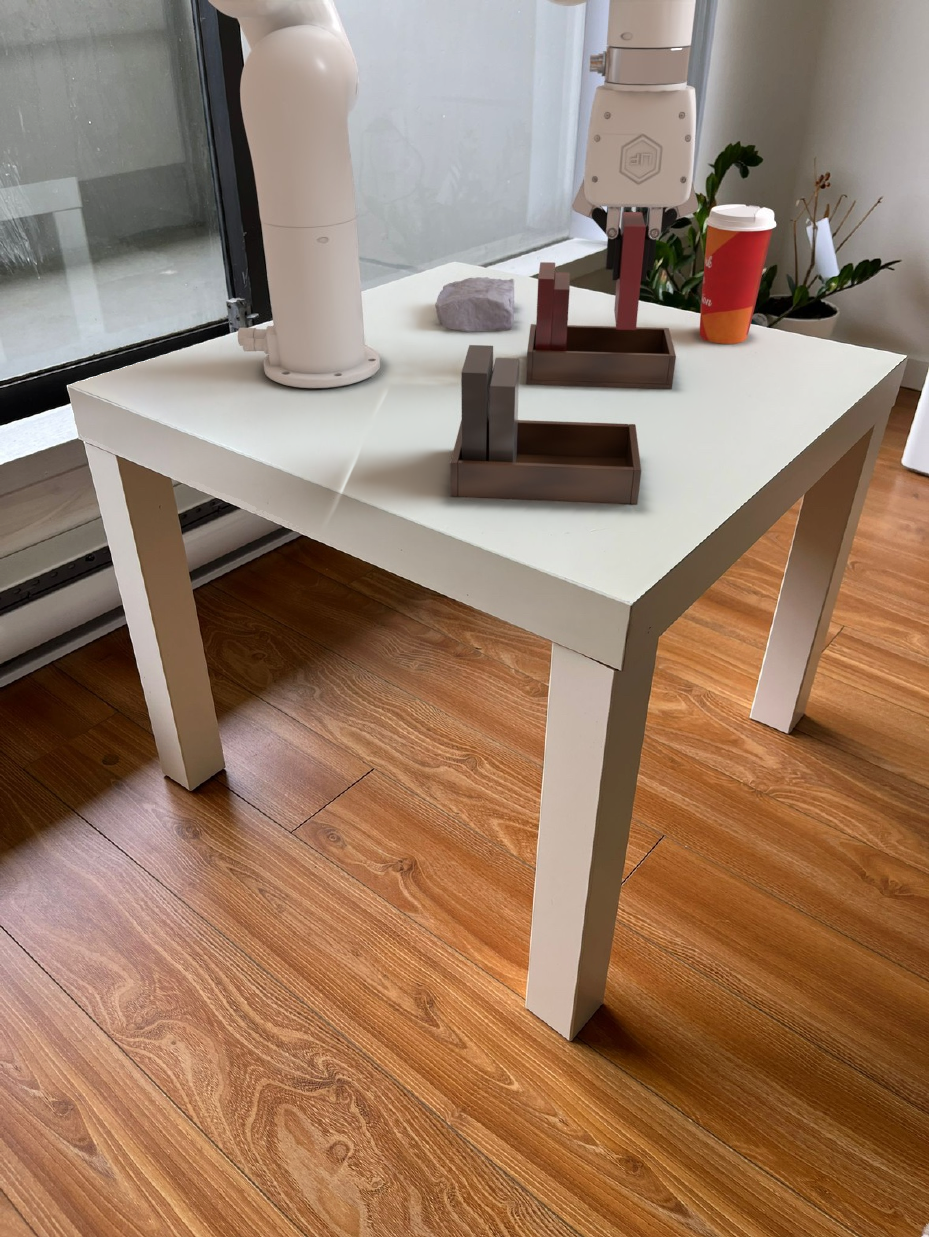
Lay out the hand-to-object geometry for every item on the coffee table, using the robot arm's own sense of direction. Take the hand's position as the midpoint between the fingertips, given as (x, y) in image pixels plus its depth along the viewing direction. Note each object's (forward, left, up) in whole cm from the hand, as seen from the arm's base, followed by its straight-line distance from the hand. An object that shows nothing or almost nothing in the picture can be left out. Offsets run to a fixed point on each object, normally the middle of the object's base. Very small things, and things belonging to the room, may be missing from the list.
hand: (628, 275), depth 96 cm
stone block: (-17, +18, -10) cm, 27 cm away
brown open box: (-2, 0, -10) cm, 10 cm away
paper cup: (+13, +13, -10) cm, 21 cm away
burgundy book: (0, 0, -5) cm, 5 cm away
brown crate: (-7, -27, -10) cm, 30 cm away
